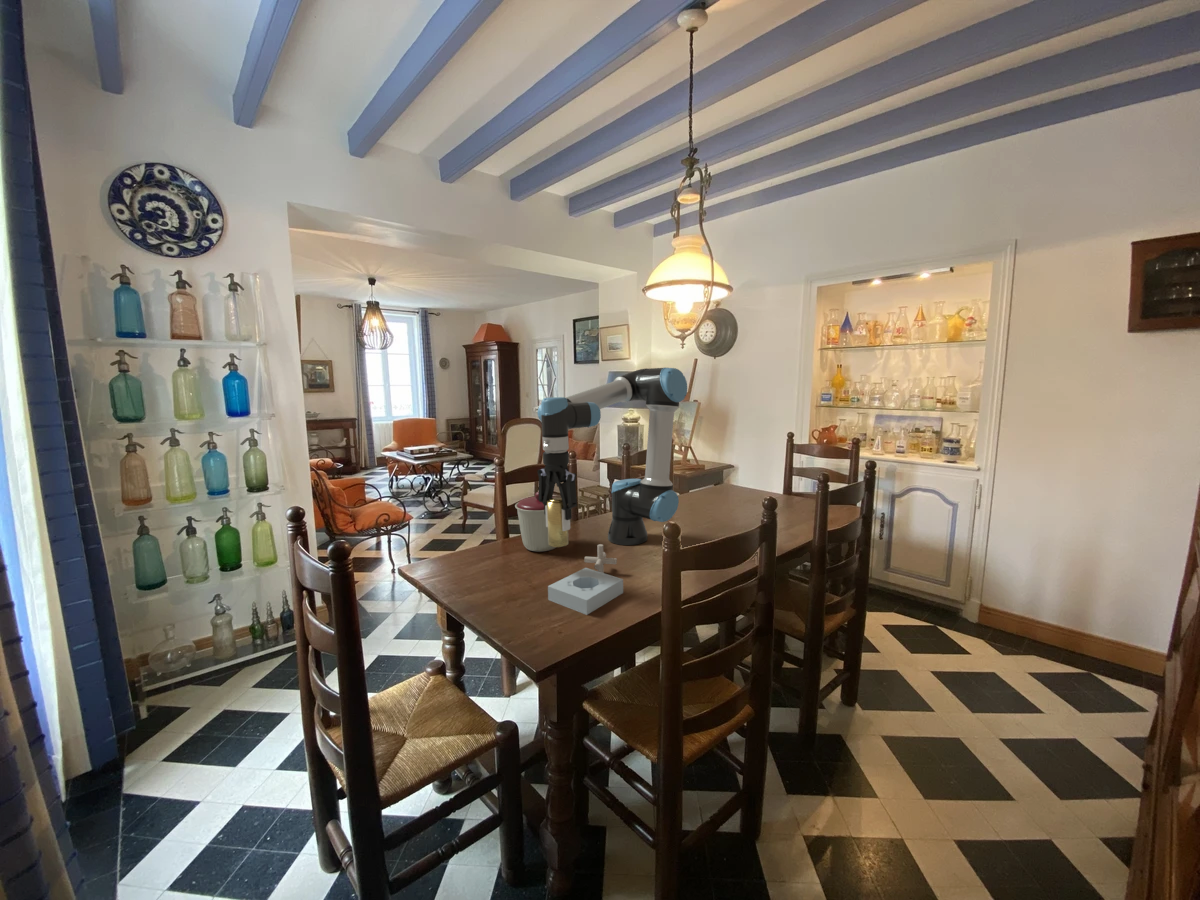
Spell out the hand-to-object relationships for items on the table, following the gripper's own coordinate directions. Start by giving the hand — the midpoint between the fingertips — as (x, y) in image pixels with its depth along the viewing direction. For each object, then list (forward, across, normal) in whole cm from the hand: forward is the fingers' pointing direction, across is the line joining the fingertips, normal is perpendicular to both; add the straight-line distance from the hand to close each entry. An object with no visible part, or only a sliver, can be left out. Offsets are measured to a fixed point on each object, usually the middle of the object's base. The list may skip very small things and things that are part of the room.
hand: (558, 527), depth 141 cm
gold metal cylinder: (+5, 0, 0) cm, 5 cm away
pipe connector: (+18, +6, +12) cm, 23 cm away
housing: (+18, +13, -3) cm, 22 cm away
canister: (+18, -27, +19) cm, 38 cm away
